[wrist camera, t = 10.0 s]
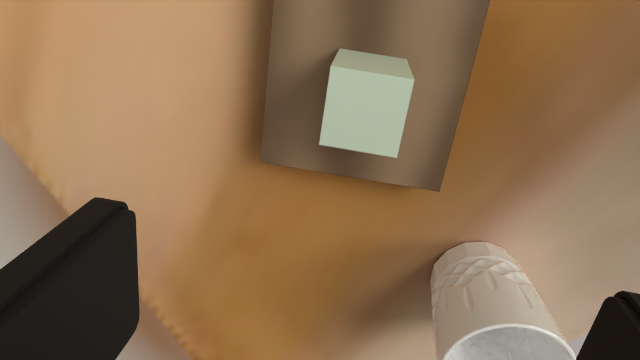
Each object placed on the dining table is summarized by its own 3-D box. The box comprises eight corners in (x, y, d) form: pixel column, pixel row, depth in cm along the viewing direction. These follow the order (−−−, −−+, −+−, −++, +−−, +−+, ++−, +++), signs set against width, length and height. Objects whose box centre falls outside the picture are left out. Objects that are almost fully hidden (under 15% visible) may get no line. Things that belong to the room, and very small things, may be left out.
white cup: (433, 226, 35) (453, 314, 26) (540, 241, 34) (599, 336, 25) (414, 310, 38) (426, 414, 29) (512, 324, 38) (556, 435, 28)
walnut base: (479, -6, 28) (491, -4, 25) (434, 174, 33) (439, 191, 30) (285, -34, 29) (276, -35, 26) (269, 146, 34) (259, 161, 31)
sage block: (406, 59, 27) (414, 79, 22) (392, 123, 29) (396, 157, 23) (339, 48, 27) (330, 65, 22) (329, 113, 29) (319, 144, 24)
